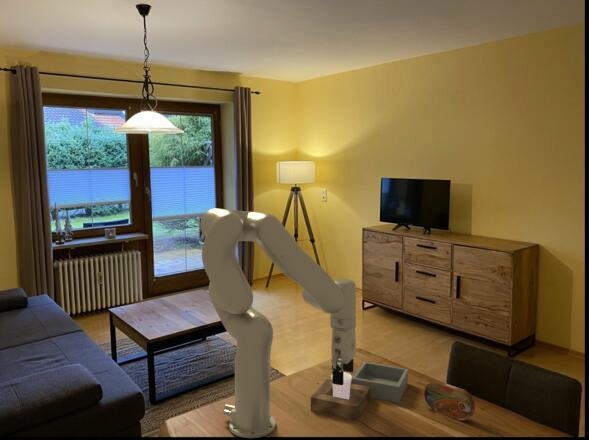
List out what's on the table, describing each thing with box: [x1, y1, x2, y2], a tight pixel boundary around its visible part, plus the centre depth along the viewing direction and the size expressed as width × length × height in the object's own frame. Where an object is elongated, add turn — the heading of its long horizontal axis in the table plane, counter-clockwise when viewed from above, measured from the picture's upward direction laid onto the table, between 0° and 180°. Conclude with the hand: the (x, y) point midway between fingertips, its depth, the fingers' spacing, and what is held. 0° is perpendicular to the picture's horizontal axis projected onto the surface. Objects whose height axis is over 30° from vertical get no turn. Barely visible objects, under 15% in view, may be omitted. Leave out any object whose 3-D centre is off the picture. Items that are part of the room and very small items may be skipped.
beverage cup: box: [330, 360, 353, 399], centre depth 141 cm, size 6×6×14 cm
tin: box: [423, 381, 476, 422], centre depth 137 cm, size 15×3×8 cm, turn 42°
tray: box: [351, 361, 409, 404], centre depth 153 cm, size 15×15×5 cm
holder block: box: [310, 378, 371, 421], centre depth 142 cm, size 14×14×4 cm
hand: (343, 377), depth 141 cm, fingers open, 9 cm apart
